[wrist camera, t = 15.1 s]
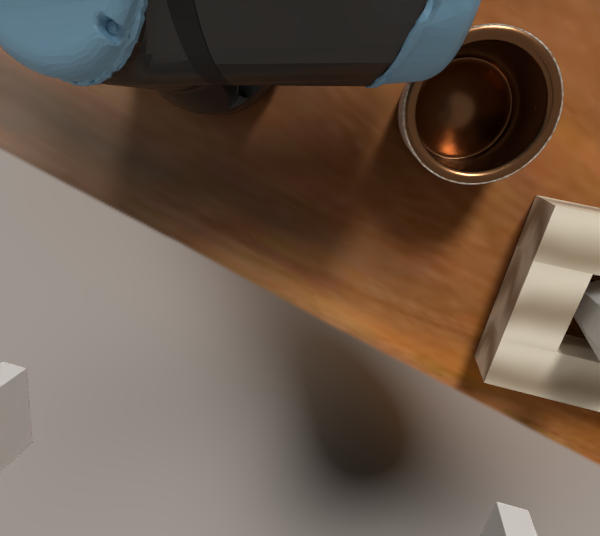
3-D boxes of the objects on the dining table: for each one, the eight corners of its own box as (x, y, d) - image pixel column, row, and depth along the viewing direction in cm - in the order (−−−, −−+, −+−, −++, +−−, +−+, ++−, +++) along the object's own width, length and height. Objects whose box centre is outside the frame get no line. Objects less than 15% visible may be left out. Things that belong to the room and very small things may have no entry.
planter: (528, 156, 39) (569, 169, 30) (407, 181, 42) (413, 199, 33) (518, 26, 36) (561, -2, 27) (388, 63, 39) (389, 48, 30)
